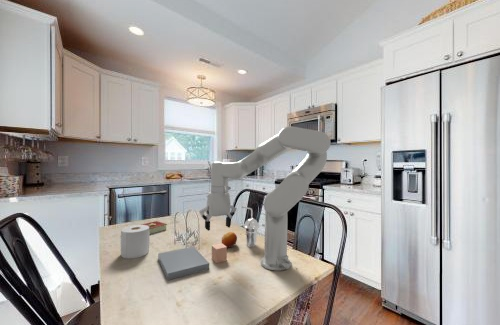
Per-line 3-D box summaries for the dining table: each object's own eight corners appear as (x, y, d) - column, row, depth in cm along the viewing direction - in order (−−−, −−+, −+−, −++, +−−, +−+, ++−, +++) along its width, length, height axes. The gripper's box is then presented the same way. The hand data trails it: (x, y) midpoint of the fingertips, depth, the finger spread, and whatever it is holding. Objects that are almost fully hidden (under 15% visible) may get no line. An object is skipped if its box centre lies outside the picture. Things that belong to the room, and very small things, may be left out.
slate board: (209, 269, 89) (209, 263, 89) (167, 280, 80) (167, 273, 80) (193, 251, 106) (193, 246, 106) (158, 259, 97) (158, 253, 97)
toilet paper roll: (142, 246, 112) (142, 223, 111) (154, 252, 104) (154, 228, 104) (116, 253, 102) (116, 228, 102) (127, 261, 95) (127, 234, 95)
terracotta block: (226, 260, 97) (226, 246, 97) (216, 263, 94) (216, 249, 94) (221, 256, 101) (222, 243, 101) (211, 258, 98) (211, 245, 98)
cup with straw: (252, 249, 108) (253, 209, 108) (238, 245, 114) (239, 206, 114) (262, 244, 115) (263, 206, 115) (248, 240, 121) (249, 204, 121)
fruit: (238, 246, 108) (230, 232, 109) (225, 253, 110) (217, 239, 111) (242, 241, 116) (234, 227, 117) (229, 247, 118) (222, 234, 118)
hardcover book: (122, 235, 129) (123, 227, 129) (156, 226, 146) (156, 220, 146) (133, 239, 122) (133, 232, 122) (167, 230, 139) (167, 223, 139)
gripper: (232, 187, 105) (231, 223, 105) (197, 189, 96) (196, 228, 96) (240, 190, 99) (239, 228, 99) (203, 191, 89) (202, 233, 90)
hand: (218, 228), depth 97 cm, fingers open, 9 cm apart
